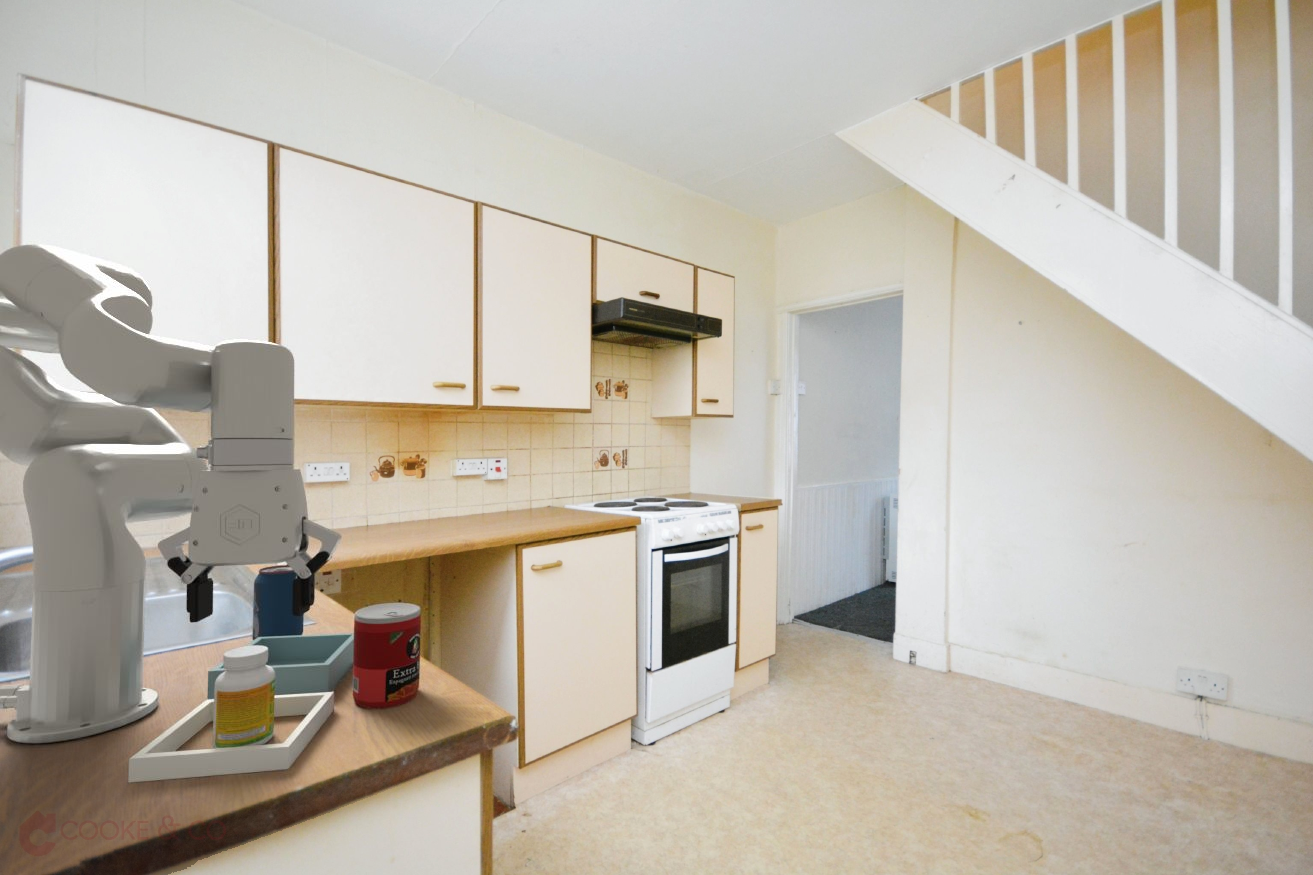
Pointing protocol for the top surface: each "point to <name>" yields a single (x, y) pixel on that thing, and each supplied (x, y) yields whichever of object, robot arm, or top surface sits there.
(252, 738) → the supplement bottle
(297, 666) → the teal bin
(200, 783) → the top surface
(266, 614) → the soda can
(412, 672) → the canned food
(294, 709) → the white frame
